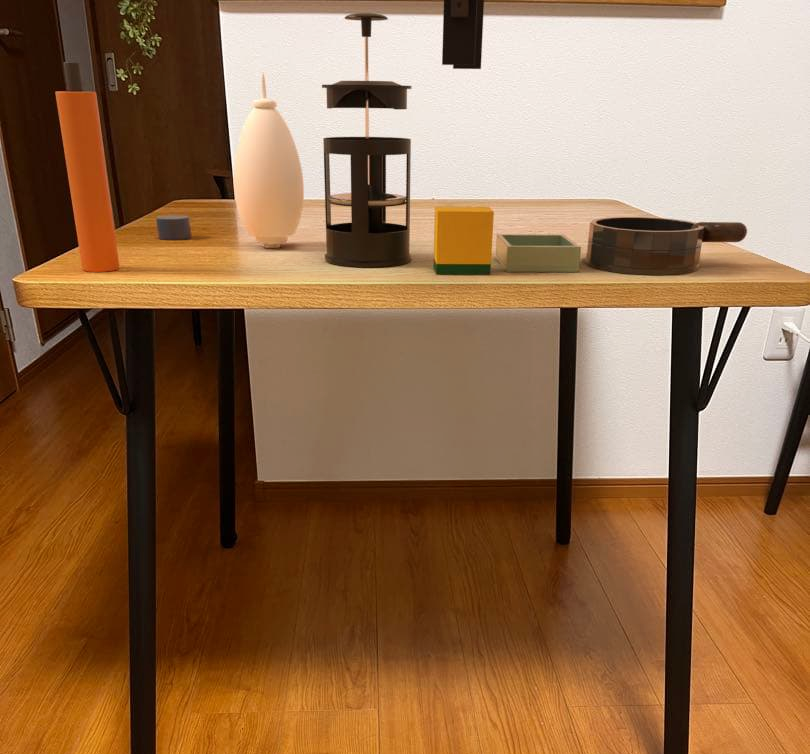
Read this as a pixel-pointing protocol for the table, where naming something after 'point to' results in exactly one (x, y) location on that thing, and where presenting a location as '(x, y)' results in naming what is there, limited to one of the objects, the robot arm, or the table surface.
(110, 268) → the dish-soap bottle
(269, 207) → the air blower bulb
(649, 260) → the pan
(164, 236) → the steel-wool tin
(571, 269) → the sponge dish
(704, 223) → the pan handle
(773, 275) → the table surface
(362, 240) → the french press
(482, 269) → the sponge
